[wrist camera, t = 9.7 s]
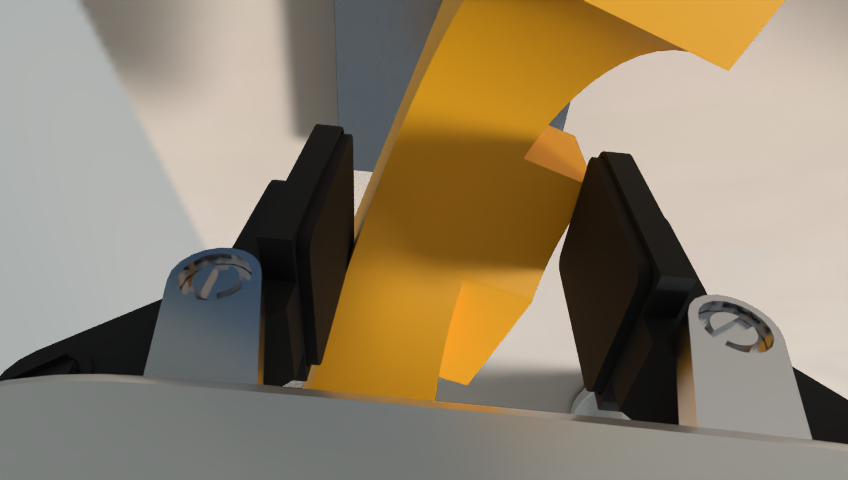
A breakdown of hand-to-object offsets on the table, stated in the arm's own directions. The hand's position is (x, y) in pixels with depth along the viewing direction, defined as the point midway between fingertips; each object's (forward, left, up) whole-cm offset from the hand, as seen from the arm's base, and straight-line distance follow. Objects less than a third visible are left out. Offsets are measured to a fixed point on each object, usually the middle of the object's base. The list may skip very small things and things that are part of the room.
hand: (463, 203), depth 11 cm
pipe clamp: (+1, -1, -3) cm, 3 cm away
